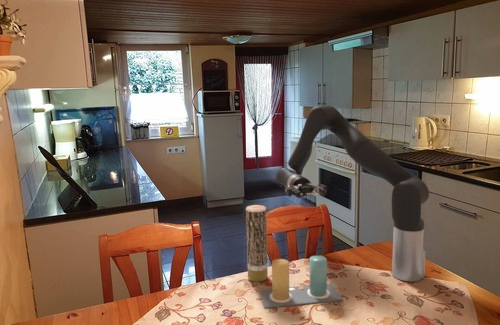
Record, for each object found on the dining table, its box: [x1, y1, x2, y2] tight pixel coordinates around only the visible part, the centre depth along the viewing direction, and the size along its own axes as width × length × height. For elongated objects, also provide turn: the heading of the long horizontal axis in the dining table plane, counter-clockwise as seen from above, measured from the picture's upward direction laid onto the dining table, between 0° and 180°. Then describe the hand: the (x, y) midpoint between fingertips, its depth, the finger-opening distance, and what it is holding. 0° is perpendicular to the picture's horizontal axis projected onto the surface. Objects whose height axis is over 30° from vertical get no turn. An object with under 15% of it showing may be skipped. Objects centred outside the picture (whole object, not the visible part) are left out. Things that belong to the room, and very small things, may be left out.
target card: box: [258, 282, 344, 309], centre depth 112 cm, size 24×10×1 cm, turn 98°
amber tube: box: [271, 258, 290, 301], centre depth 111 cm, size 5×5×11 cm
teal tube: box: [309, 255, 328, 297], centre depth 112 cm, size 5×5×11 cm
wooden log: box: [245, 204, 269, 283], centre depth 123 cm, size 7×7×25 cm
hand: (311, 194), depth 124 cm, fingers open, 8 cm apart
